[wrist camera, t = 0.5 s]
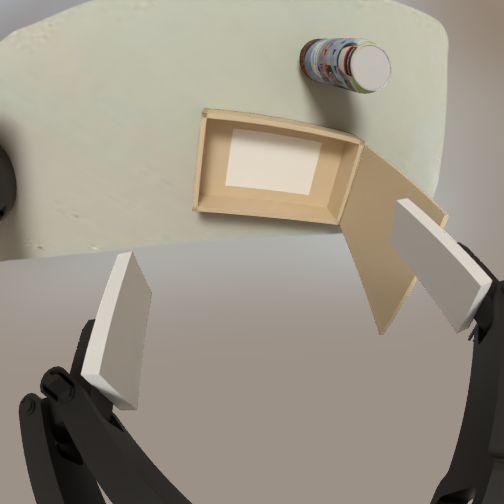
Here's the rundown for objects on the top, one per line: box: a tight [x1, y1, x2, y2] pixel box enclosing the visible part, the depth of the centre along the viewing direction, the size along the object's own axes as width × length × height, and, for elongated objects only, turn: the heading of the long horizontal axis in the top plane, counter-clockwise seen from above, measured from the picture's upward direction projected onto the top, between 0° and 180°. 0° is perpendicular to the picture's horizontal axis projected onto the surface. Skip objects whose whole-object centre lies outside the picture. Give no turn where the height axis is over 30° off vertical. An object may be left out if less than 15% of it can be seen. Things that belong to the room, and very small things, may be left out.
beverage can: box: [300, 38, 391, 94], centre depth 25 cm, size 6×7×12 cm
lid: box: [340, 145, 449, 335], centre depth 27 cm, size 19×12×1 cm
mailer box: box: [192, 108, 365, 225], centre depth 36 cm, size 20×12×5 cm, turn 81°
